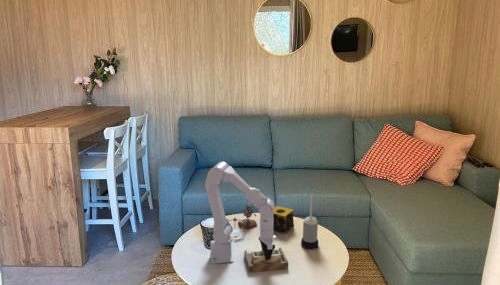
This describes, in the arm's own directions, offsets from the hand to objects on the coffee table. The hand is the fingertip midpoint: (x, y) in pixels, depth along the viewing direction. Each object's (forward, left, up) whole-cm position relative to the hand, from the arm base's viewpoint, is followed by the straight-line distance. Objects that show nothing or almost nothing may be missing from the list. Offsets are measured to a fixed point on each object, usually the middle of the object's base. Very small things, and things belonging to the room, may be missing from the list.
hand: (266, 256), depth 164 cm
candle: (+15, +33, -4) cm, 37 cm away
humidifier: (+24, +13, -4) cm, 28 cm away
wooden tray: (0, +2, -4) cm, 4 cm away
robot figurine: (-2, +40, -4) cm, 40 cm away
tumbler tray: (0, 0, -2) cm, 2 cm away
